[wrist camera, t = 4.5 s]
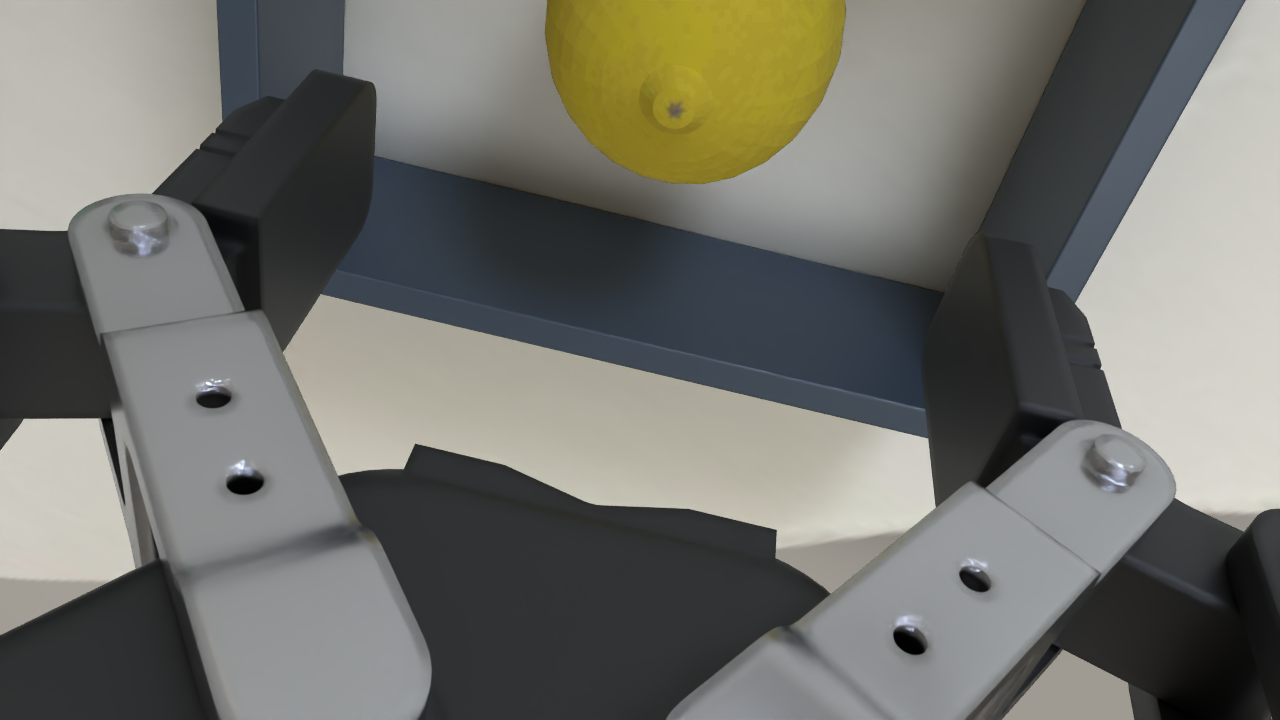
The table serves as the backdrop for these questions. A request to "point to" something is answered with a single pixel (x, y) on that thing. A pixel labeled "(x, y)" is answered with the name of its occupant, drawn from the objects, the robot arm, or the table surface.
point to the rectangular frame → (728, 272)
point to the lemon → (692, 78)
